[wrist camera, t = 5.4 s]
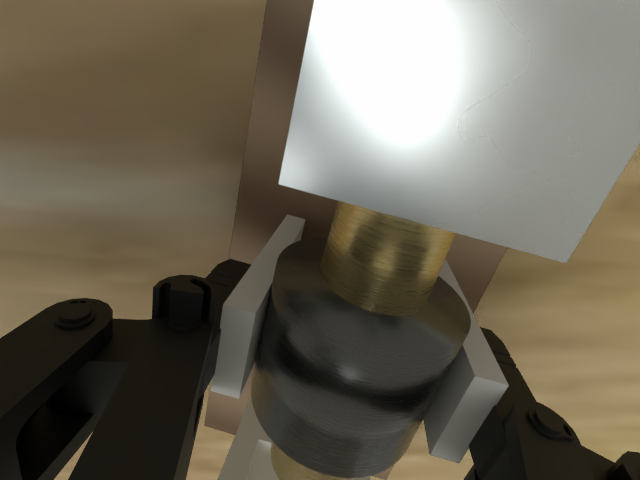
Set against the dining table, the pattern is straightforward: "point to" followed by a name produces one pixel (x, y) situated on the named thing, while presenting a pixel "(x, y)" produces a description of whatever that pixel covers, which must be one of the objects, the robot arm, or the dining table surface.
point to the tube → (355, 344)
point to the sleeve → (470, 113)
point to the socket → (251, 452)
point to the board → (277, 200)
